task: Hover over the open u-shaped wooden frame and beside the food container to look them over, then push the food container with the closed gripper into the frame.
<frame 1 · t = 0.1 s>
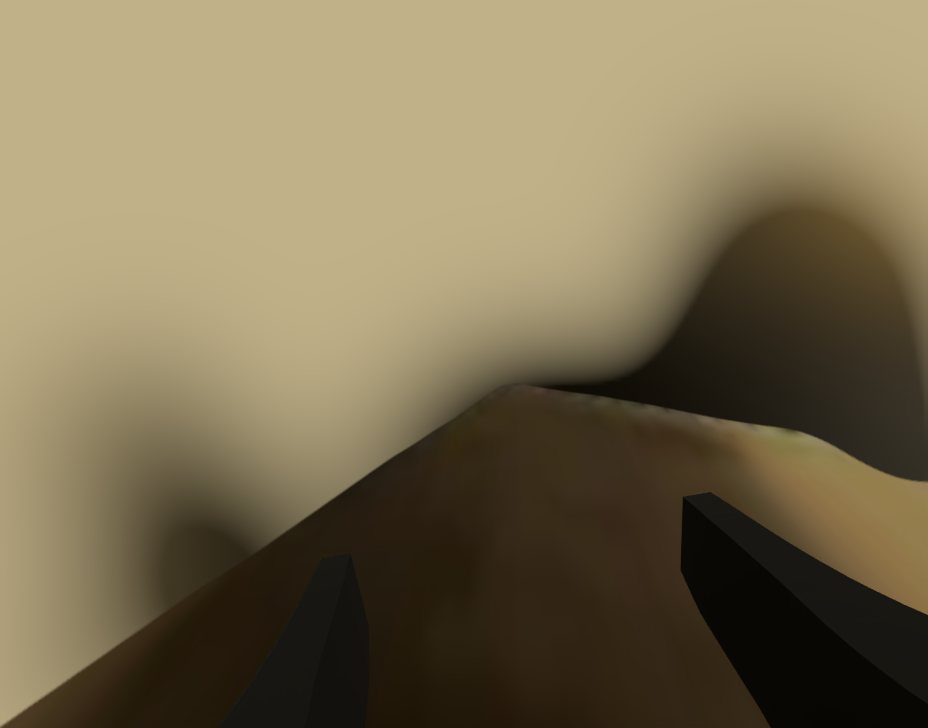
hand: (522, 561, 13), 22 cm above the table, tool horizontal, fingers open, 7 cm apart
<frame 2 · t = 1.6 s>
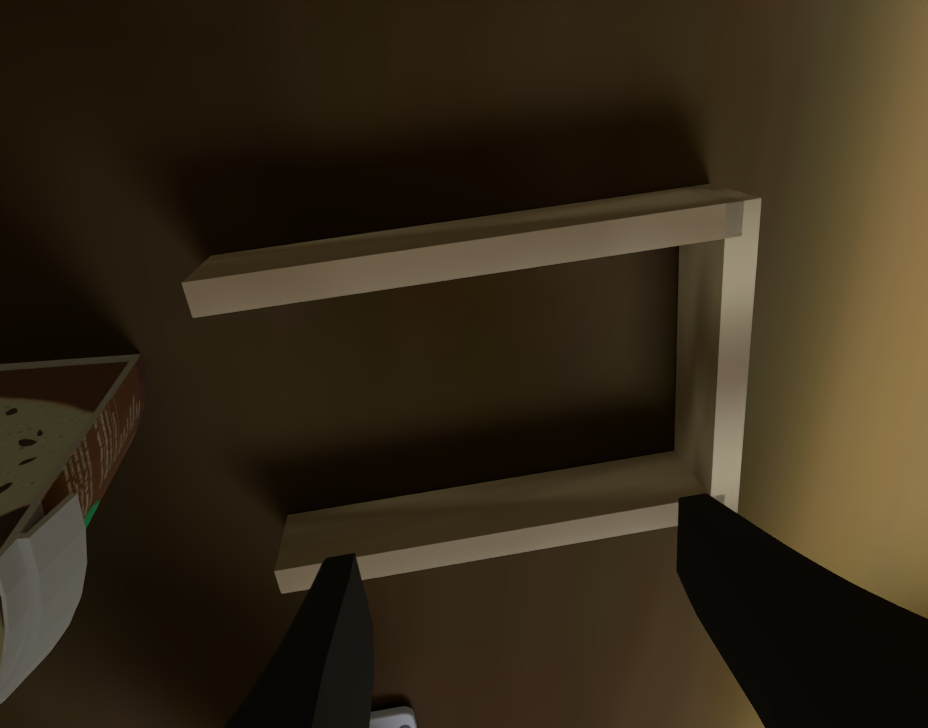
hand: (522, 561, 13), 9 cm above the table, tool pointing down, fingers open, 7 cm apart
food container: (23, 444, 21), on the table
open u-shaped wooden frame: (470, 377, 22), on the table
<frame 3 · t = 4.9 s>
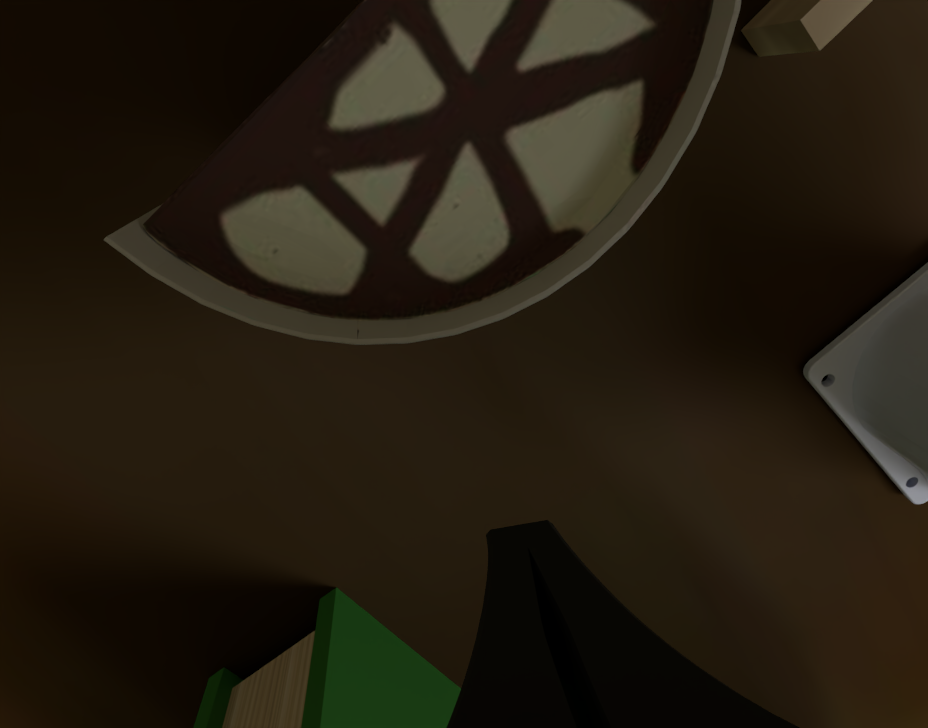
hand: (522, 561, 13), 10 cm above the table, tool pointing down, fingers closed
food container: (448, 120, 19), on the table
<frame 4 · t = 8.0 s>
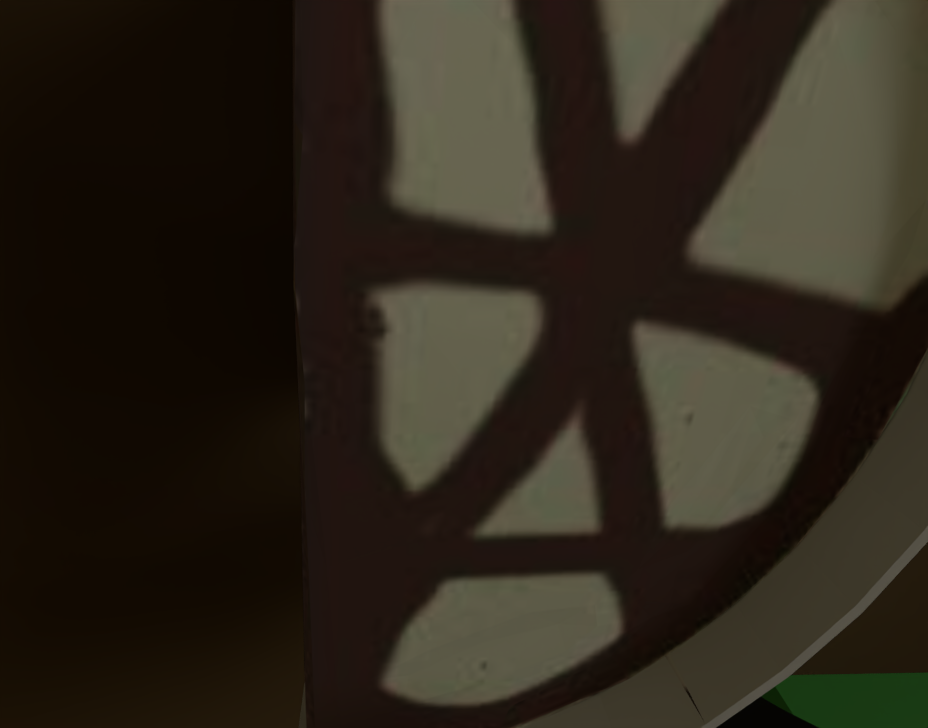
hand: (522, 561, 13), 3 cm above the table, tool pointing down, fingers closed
food container: (494, 165, 13), on the table, touching gripper
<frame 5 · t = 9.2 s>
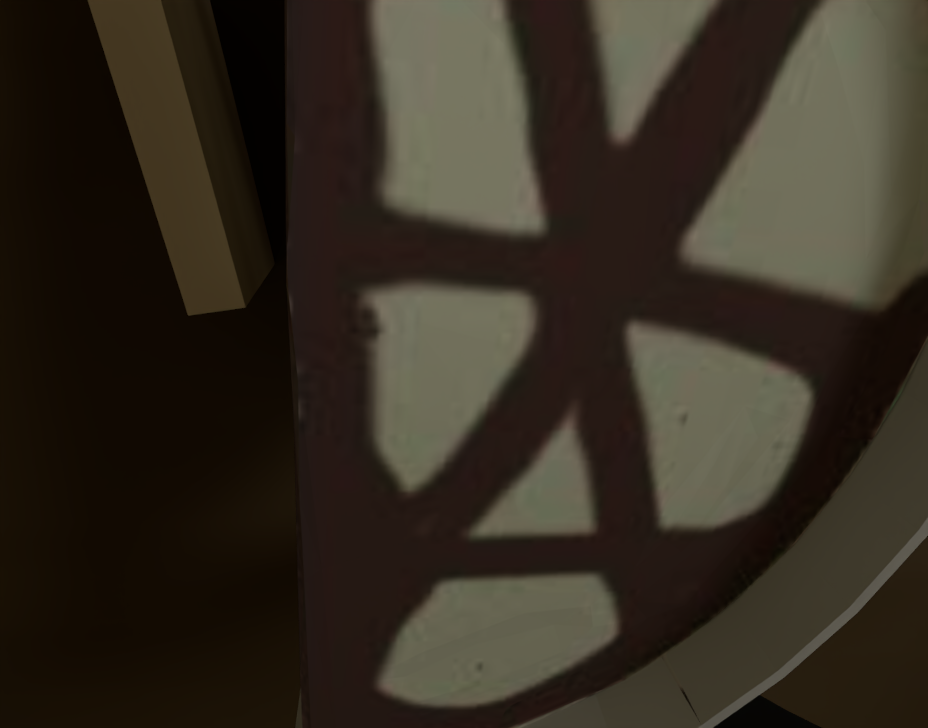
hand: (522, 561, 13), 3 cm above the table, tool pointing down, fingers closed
food container: (492, 167, 13), on the table, touching gripper
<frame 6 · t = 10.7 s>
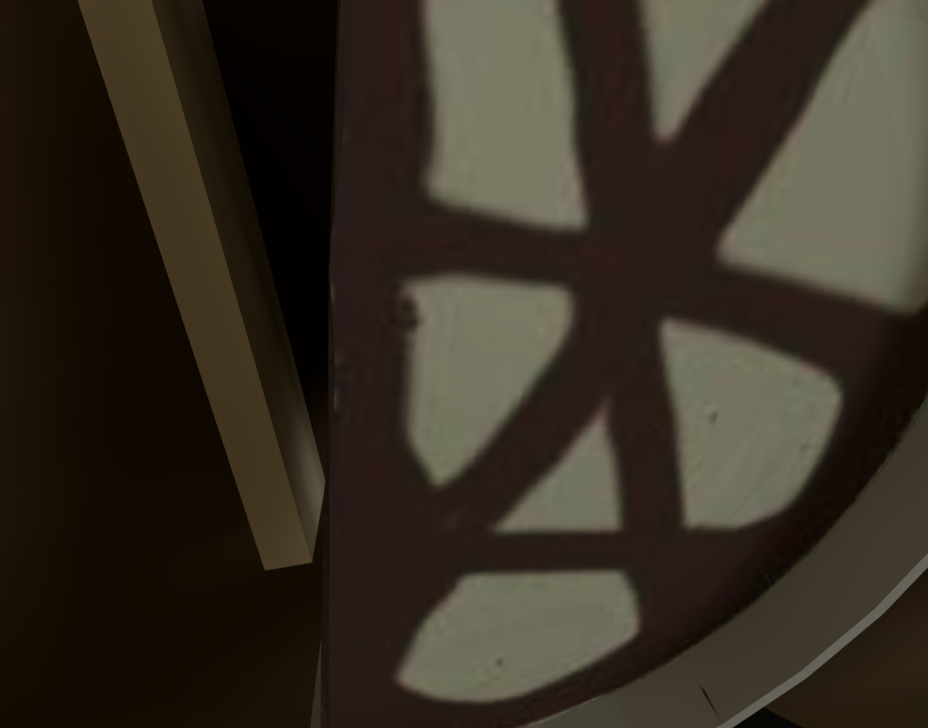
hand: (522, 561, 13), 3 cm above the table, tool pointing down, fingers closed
food container: (507, 165, 13), on the table, touching gripper
open u-shaped wooden frame: (463, 153, 13), on the table
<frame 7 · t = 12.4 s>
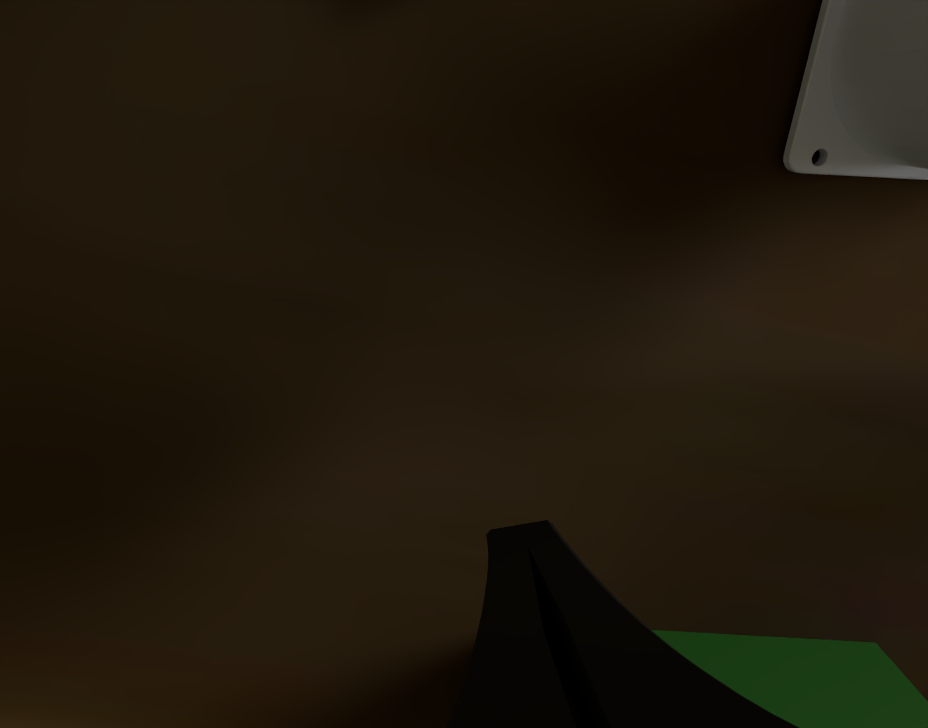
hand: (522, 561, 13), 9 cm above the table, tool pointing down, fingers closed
hardback book: (682, 686, 30), on the table
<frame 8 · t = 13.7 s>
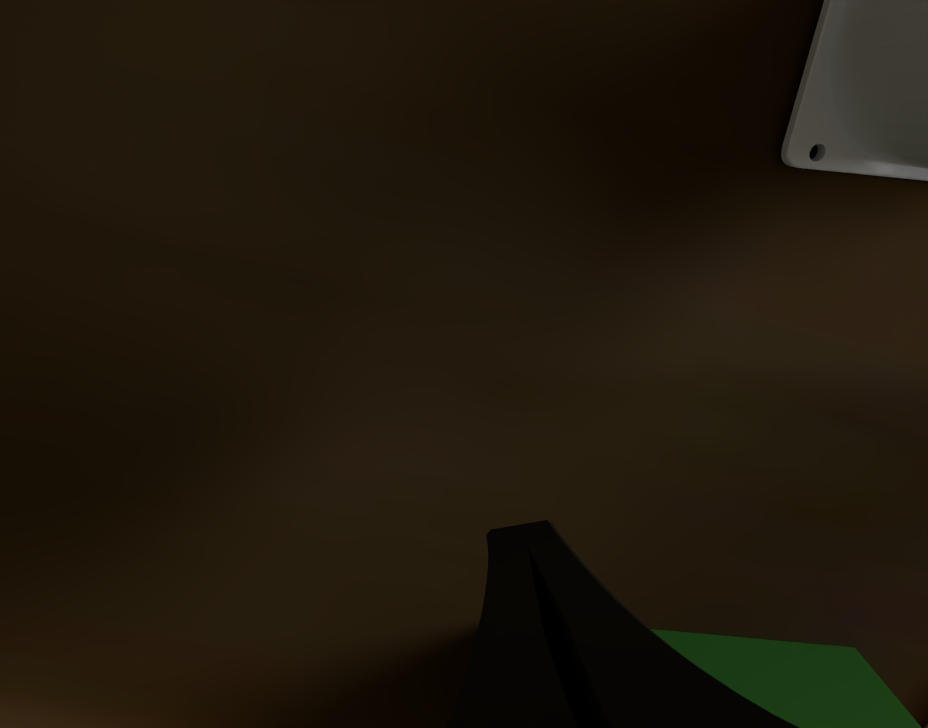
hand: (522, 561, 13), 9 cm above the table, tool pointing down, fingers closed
hardback book: (661, 686, 30), on the table
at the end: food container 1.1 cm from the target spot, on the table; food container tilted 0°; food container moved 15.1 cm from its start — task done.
